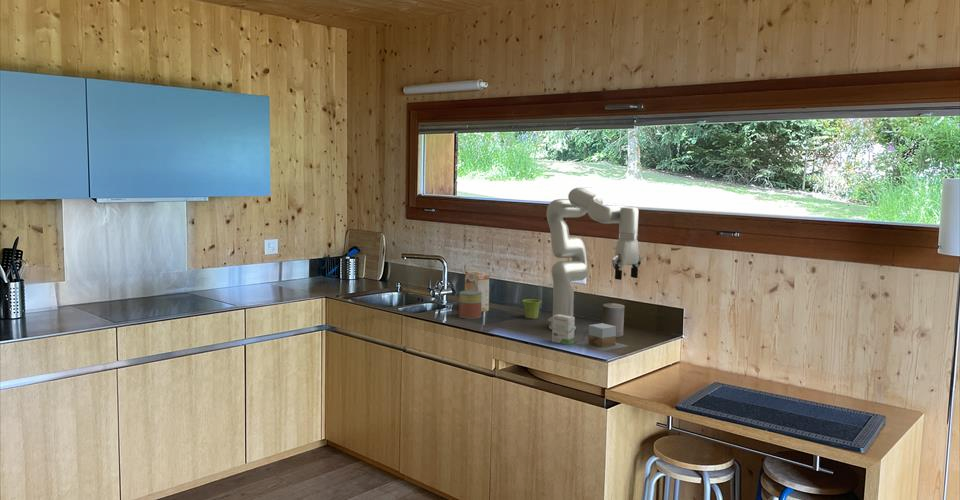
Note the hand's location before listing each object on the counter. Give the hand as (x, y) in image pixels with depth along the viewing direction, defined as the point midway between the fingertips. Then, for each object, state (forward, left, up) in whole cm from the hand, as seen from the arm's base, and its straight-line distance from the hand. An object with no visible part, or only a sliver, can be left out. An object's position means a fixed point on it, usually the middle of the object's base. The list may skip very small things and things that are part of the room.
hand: (626, 278), depth 298 cm
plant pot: (-68, +7, -29) cm, 74 cm away
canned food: (-87, -17, -30) cm, 93 cm away
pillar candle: (-19, +13, -29) cm, 37 cm away
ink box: (-20, -16, -30) cm, 39 cm away
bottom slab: (-8, -5, -29) cm, 30 cm away
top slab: (-8, -5, -25) cm, 26 cm away
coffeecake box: (-101, -3, -29) cm, 105 cm away
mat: (-8, -5, -29) cm, 31 cm away
